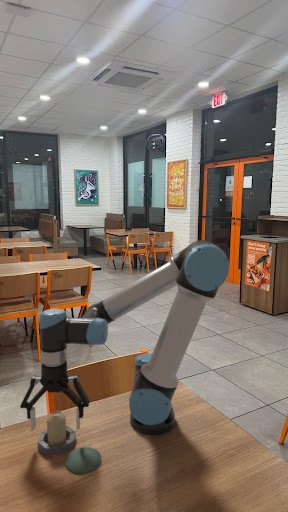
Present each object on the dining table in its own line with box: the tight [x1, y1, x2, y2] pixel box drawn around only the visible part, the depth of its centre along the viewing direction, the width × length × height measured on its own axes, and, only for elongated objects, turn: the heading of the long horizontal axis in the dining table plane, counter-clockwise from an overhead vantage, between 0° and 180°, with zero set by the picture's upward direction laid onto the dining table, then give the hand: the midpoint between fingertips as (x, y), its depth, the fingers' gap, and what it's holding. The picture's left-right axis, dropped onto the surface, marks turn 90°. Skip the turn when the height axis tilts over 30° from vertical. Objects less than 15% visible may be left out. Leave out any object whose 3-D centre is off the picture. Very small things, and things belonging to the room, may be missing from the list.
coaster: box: [65, 446, 102, 475], centre depth 102 cm, size 10×10×1 cm
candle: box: [46, 410, 67, 445], centre depth 109 cm, size 6×6×10 cm
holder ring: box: [37, 425, 77, 456], centre depth 109 cm, size 11×11×2 cm
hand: (56, 427), depth 109 cm, fingers open, 13 cm apart
